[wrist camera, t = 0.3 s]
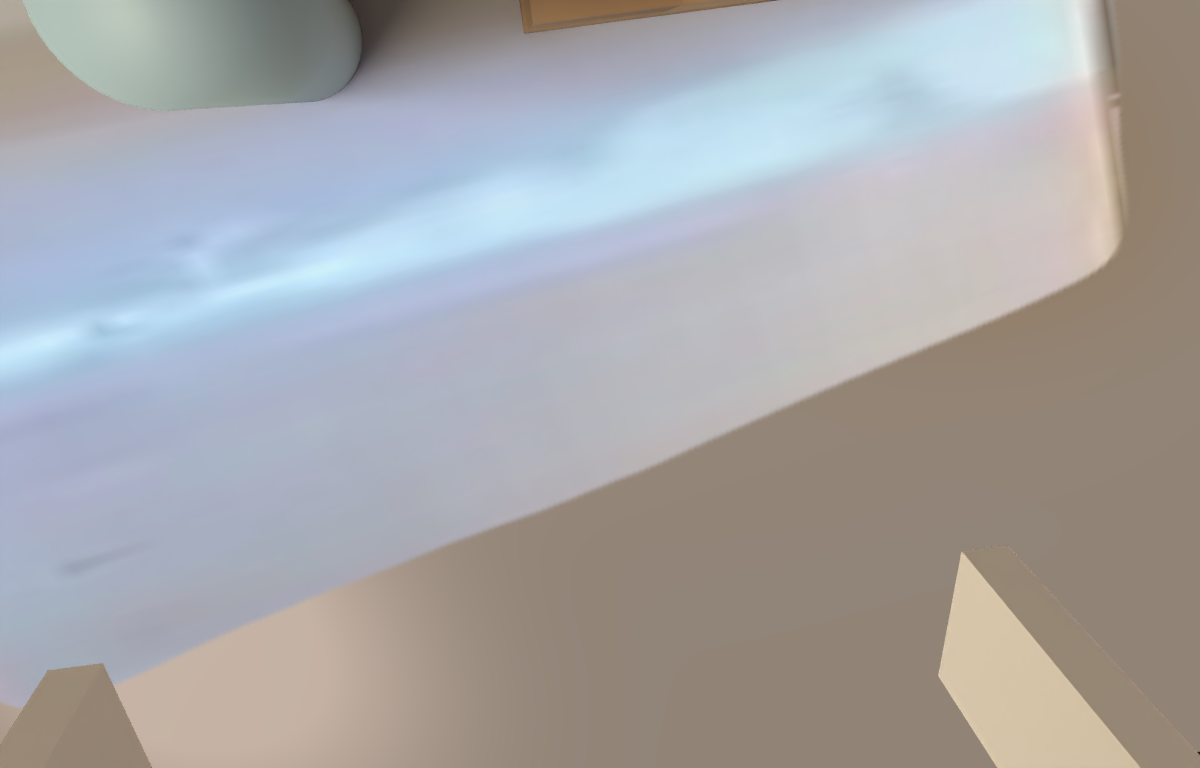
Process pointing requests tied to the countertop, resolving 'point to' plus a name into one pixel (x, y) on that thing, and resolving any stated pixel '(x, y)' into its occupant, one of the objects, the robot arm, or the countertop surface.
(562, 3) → the socket block
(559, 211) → the countertop surface
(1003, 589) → the robot arm
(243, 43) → the peg
